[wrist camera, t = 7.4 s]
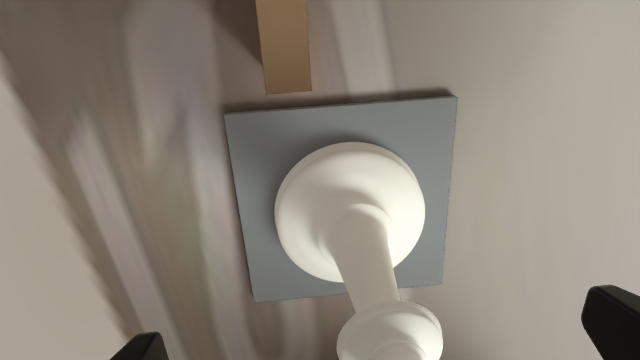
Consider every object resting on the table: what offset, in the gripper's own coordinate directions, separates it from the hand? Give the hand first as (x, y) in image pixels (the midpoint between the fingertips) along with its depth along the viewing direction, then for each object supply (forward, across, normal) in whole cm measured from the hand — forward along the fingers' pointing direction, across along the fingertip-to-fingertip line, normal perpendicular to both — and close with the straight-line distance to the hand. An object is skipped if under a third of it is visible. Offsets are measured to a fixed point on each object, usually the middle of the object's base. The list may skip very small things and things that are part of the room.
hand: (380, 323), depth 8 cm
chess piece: (+5, 0, 0) cm, 5 cm away
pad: (+5, 0, 0) cm, 5 cm away
